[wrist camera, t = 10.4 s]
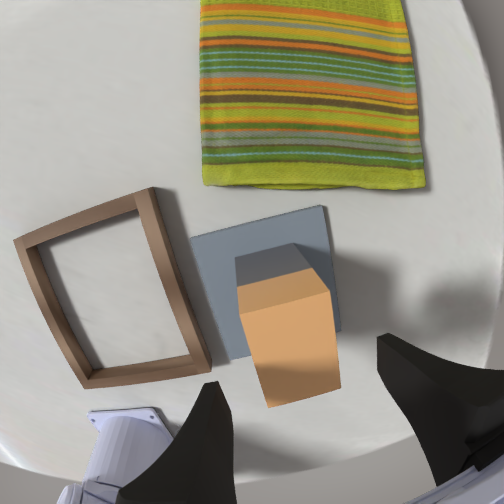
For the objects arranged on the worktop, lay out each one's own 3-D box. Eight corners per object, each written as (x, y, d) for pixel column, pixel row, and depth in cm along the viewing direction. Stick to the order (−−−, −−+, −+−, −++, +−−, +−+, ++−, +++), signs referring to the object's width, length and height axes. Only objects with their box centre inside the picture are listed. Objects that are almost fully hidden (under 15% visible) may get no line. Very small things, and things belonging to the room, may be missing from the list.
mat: (339, 327, 23) (341, 330, 23) (230, 356, 23) (230, 360, 23) (320, 204, 20) (322, 205, 20) (190, 237, 20) (189, 239, 20)
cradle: (212, 360, 23) (211, 371, 22) (89, 379, 23) (84, 389, 22) (153, 186, 19) (147, 188, 18) (23, 235, 19) (13, 240, 18)
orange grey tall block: (307, 318, 22) (341, 388, 15) (254, 331, 22) (268, 408, 15) (292, 242, 20) (329, 291, 13) (234, 257, 20) (239, 314, 13)
